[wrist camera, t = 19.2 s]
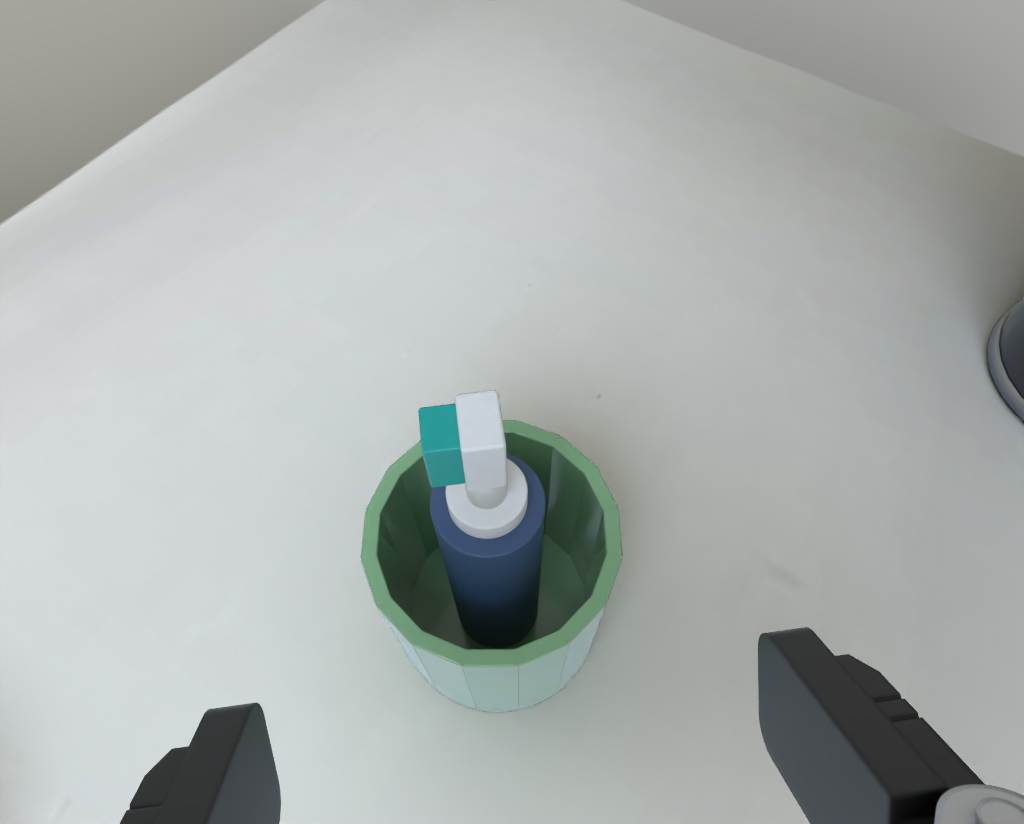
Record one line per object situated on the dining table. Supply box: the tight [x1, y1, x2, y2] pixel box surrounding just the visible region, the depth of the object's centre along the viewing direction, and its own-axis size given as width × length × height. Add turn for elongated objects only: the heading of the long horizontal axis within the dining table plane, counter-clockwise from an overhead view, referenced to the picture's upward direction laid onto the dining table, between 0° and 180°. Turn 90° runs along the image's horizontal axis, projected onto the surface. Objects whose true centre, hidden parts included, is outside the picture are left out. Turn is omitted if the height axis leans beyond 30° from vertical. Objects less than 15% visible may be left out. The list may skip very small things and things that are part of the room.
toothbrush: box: [419, 390, 546, 648], centre depth 24 cm, size 3×3×16 cm
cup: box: [361, 420, 622, 712], centre depth 27 cm, size 8×8×9 cm
